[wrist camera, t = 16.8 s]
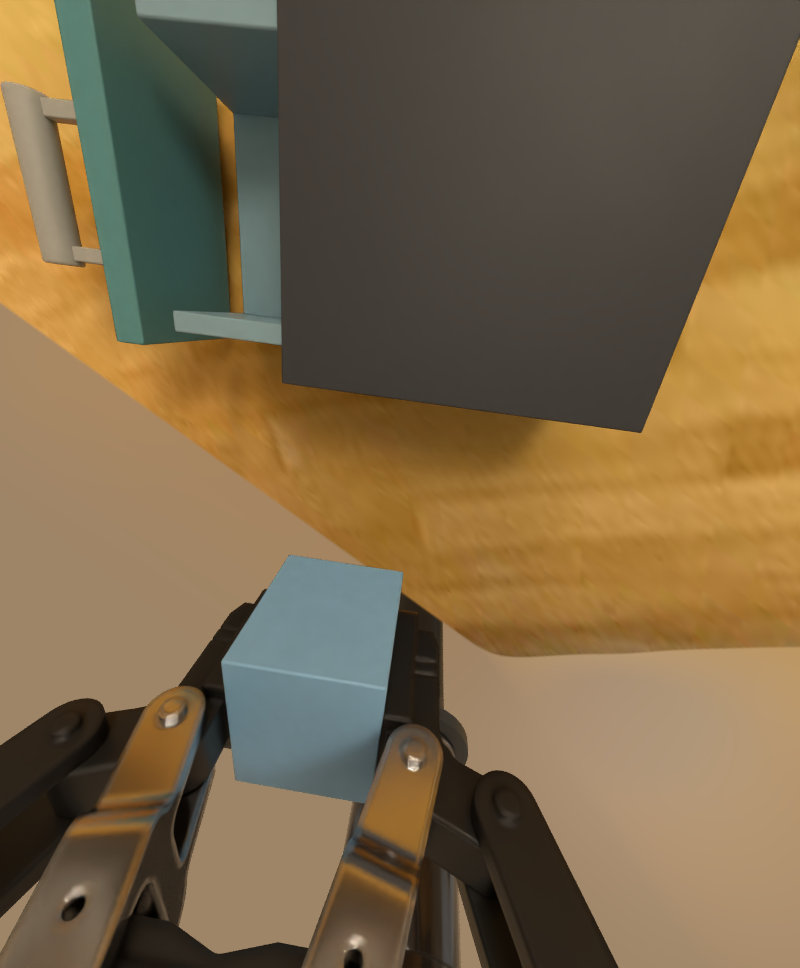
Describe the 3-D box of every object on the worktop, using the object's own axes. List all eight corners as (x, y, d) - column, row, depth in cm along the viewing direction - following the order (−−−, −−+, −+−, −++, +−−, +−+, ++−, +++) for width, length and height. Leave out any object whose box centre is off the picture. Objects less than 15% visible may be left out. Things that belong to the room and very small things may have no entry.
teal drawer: (134, 324, 22) (5, 326, 16) (91, 68, 18) (-116, -83, 11) (427, 364, 22) (422, 383, 15) (464, 106, 17) (479, -30, 10)
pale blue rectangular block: (389, 671, 13) (370, 805, 10) (289, 655, 13) (234, 781, 10) (403, 571, 11) (387, 689, 8) (288, 553, 12) (219, 661, 8)
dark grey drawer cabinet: (338, 360, 23) (281, 383, 15) (351, 88, 18) (274, -114, 10) (567, 391, 22) (641, 433, 14) (648, 119, 17) (842, -68, 9)
